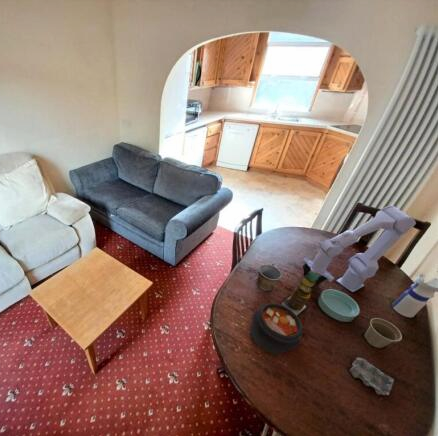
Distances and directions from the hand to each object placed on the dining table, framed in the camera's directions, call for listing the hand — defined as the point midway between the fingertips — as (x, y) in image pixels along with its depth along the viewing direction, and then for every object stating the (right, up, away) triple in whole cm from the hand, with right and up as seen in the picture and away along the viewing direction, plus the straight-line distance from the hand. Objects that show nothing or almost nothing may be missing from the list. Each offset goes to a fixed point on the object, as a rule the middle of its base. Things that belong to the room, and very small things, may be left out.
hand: (310, 280), depth 119 cm
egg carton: (-3, -26, -35) cm, 43 cm away
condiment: (-15, -9, -10) cm, 20 cm away
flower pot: (+9, -18, -24) cm, 31 cm away
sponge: (0, -1, +1) cm, 1 cm away
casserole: (-29, -16, -20) cm, 39 cm away
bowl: (+3, -10, -11) cm, 15 cm away
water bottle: (+33, -10, -12) cm, 37 cm away
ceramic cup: (-23, -2, +1) cm, 23 cm away
